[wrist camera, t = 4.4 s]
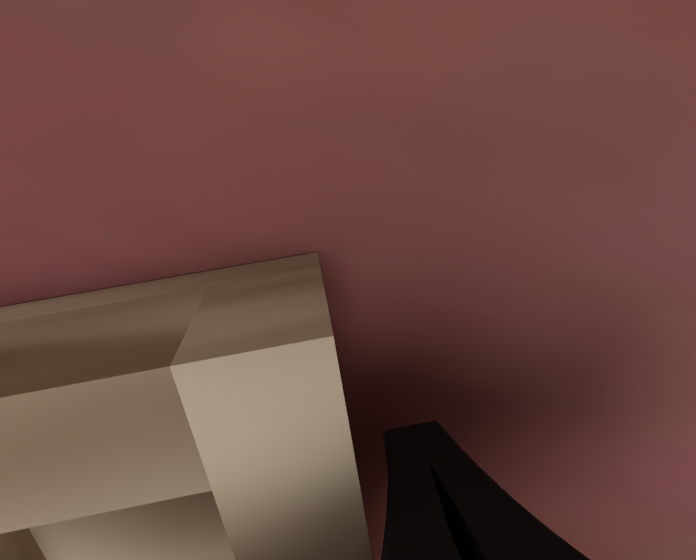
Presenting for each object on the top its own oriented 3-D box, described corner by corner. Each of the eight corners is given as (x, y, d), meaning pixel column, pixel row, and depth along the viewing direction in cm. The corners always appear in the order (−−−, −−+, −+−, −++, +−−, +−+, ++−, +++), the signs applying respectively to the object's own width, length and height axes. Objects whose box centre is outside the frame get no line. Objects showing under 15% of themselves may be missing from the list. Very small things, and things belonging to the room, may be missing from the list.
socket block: (372, 561, 13) (403, 731, 10) (36, 634, 13) (-68, 846, 9) (317, 251, 10) (333, 335, 6) (-155, 334, 9) (-457, 482, 5)
